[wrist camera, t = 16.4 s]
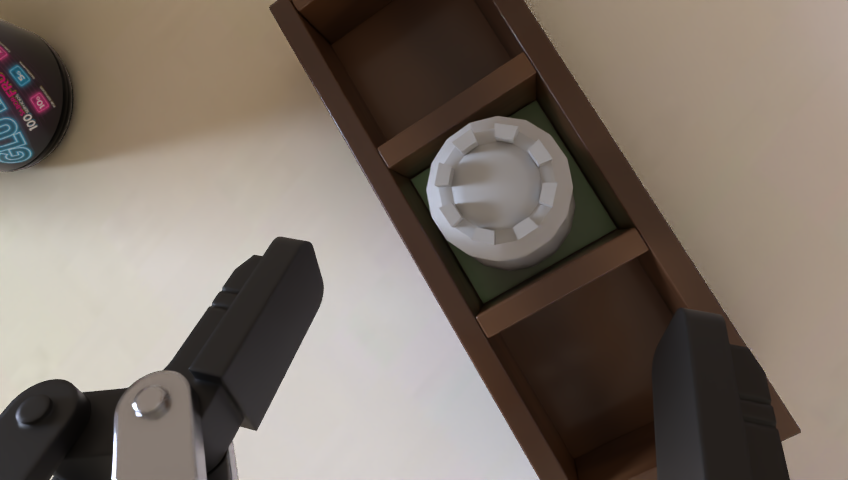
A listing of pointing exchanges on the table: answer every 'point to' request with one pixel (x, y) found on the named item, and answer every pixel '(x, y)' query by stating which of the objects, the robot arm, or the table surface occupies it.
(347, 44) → the compartment tray
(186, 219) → the table surface
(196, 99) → the table surface
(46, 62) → the supplement container
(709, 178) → the table surface
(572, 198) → the rook chess piece
